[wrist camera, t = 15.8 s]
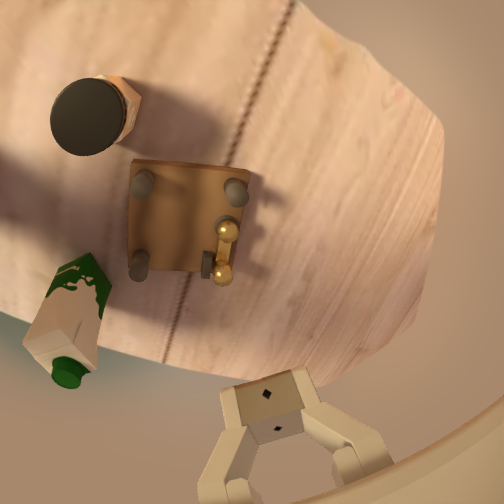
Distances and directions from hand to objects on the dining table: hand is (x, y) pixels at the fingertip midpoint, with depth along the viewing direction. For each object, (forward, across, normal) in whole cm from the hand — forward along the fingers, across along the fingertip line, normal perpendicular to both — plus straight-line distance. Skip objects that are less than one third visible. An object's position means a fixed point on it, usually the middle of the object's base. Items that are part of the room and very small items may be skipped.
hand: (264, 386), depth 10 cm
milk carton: (+37, +24, +14) cm, 47 cm away
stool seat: (+37, +5, +9) cm, 38 cm away
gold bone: (+34, 0, +14) cm, 37 cm away
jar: (+37, +10, -10) cm, 40 cm away
